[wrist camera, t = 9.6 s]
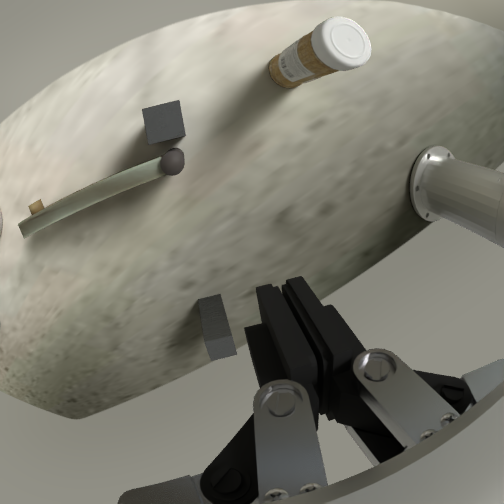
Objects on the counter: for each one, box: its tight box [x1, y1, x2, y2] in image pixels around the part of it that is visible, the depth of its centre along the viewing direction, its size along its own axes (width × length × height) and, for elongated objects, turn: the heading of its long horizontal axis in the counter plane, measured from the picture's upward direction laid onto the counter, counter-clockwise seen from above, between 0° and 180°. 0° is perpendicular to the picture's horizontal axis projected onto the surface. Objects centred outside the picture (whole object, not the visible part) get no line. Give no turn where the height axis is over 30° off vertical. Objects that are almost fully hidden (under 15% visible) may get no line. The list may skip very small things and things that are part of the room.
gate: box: [18, 148, 184, 238], centre depth 24 cm, size 3×18×8 cm, turn 105°
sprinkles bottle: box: [269, 17, 371, 88], centre depth 21 cm, size 5×5×13 cm
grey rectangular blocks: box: [142, 100, 237, 361], centre depth 28 cm, size 3×26×8 cm, turn 9°
